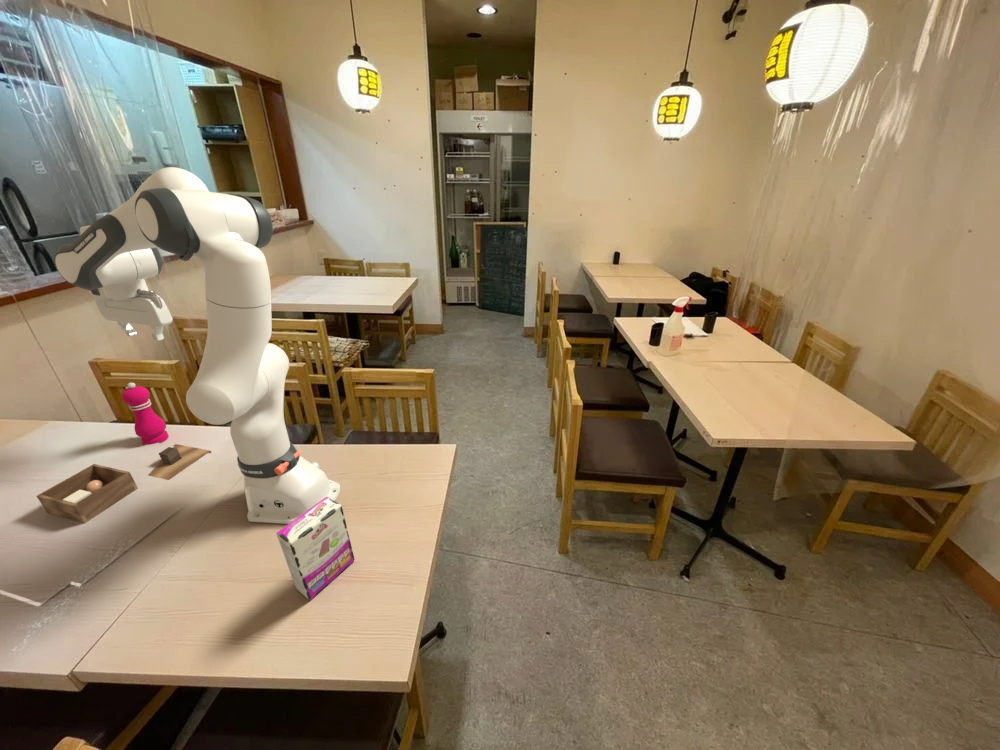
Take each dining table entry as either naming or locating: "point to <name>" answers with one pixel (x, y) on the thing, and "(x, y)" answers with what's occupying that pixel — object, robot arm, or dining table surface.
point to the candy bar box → (316, 547)
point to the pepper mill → (144, 415)
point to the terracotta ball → (94, 486)
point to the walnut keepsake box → (97, 502)
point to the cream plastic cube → (77, 496)
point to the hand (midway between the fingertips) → (145, 337)
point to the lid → (176, 460)
